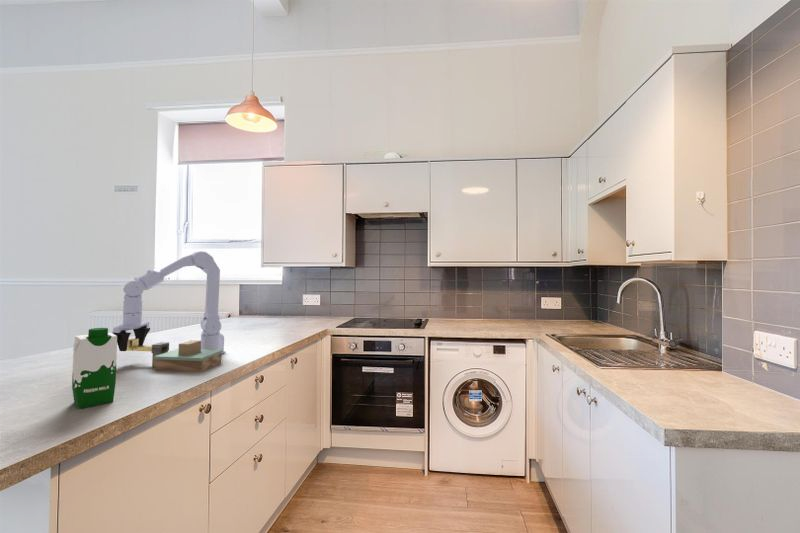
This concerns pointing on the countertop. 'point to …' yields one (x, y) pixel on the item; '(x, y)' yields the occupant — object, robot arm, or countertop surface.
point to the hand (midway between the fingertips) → (131, 348)
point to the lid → (189, 352)
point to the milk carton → (94, 368)
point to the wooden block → (137, 346)
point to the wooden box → (181, 361)
